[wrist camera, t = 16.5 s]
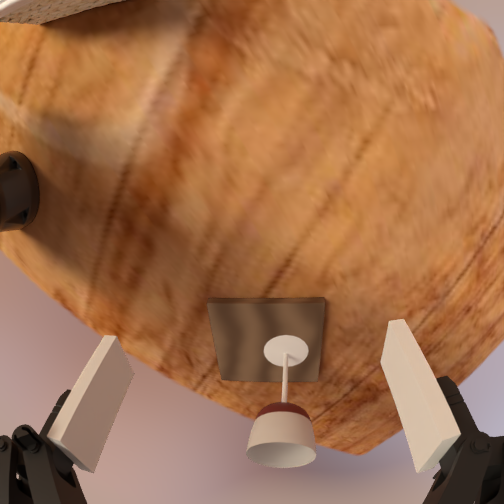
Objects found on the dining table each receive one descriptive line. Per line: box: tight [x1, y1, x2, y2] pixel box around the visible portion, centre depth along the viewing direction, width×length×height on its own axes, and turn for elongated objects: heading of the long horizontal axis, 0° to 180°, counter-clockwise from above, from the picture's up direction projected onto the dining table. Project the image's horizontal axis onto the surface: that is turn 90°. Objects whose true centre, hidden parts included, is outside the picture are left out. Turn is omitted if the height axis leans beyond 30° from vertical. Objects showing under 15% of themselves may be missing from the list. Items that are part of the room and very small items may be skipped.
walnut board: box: [207, 297, 325, 382], centre depth 49 cm, size 18×18×2 cm
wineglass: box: [246, 335, 316, 468], centre depth 40 cm, size 8×9×20 cm
